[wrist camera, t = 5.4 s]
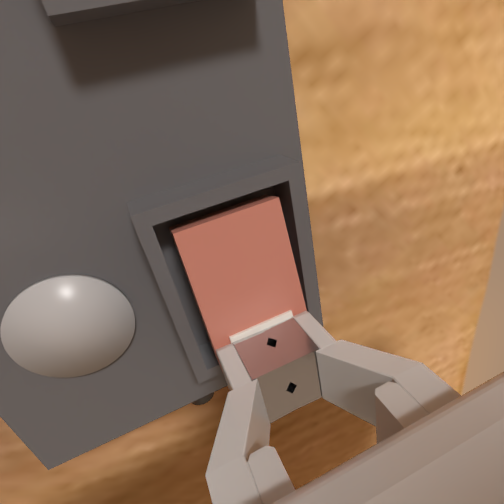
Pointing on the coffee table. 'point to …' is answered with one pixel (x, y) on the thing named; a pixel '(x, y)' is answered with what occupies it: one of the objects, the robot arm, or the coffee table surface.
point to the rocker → (240, 269)
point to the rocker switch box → (129, 200)
